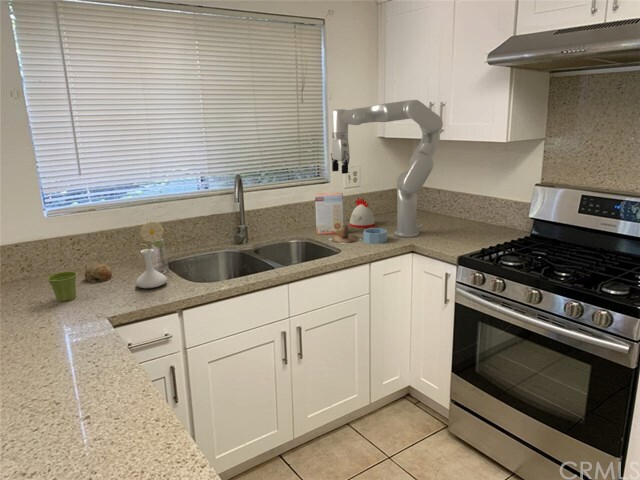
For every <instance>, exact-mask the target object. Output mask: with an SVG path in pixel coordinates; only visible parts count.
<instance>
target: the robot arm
mask: <svg viewBox="0 0 640 480" xmlns="http://www.w3.org/2000/svg"><path fill="white" fill-rule="evenodd" d="M410 119H411V120H413V121H414V122H415V123H416V124H417V125H419V128H420V130H421V134H422V136H421V140H420V142H419V144H418V145H417V147H416V148H415V150H414V152H413V154H412V155H411V157H410V159H409V163H408V164H409V167H410V168H409V170H407V171H403V172H400V173H399V175H398V176H397V177H396V178H397V179H396V193H397V194H396V195H397V197H396V198H397V202H396V203H397V204H396V205H397V207H396V208H397V210H396V213H397V214H396V215H397V216H396V230H394V231H393V235H394V236H396V237H400V238H414V237H417V236H419V235H420V232H419V229H423V224H417V211H418V210H417V208H418V196H417V193H419V192H420V190H421V189H422V188H423V186H424V184H425V183H426V182H427V180H428V178H429V176H430V175H431V173H432V171H433V168H434V165H435V162H434V158H433V156H434V154H435V152H436V151H437V149H438V148H439V147H438V146H439V144H440V141H441V135H440V131H441V130H442V128H443V125H444V122H443V119H442V117H441V116H440V115H439V114H437V113H436V112H435V111H433V110H432V109H430V108H429V107H428V106H427V105H426V104H424V103H423V102H421V101H420V100H418V99H410V100H409V99H407V100H401V101H394V102H388V103H380V104H377V105H371V106H366V107H365V106H364V107H357V108H352V109H345V108H344V109H343V108H341V109H339V108H338V109H333V110H332V115H331V134H332V135H331V136H332V137H331V140H332V143H331V144H332V145H331V153H330V157H331V158H330V159H331V166H332V167H331V169H332V170H331V171H332V172H339V167H340V165H339V164H340V163H339V161H340V162H341V174H348V173H349V163H350V158H351V156H350V144H349V125H352V126H360V125H362V124H368V123H388V122H396V121H403V120H410Z"/></svg>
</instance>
